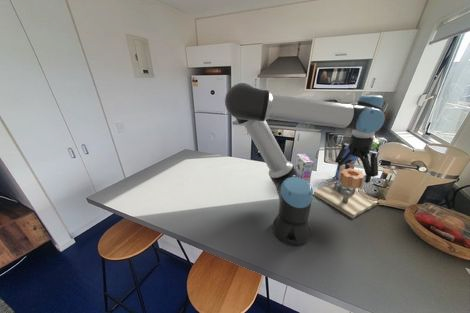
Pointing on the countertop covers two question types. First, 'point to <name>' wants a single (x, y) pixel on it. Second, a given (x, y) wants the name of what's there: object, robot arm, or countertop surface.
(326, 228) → the countertop surface
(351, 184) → the gear
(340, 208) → the gear board
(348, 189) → the gear
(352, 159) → the water bottle
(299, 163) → the candy box
